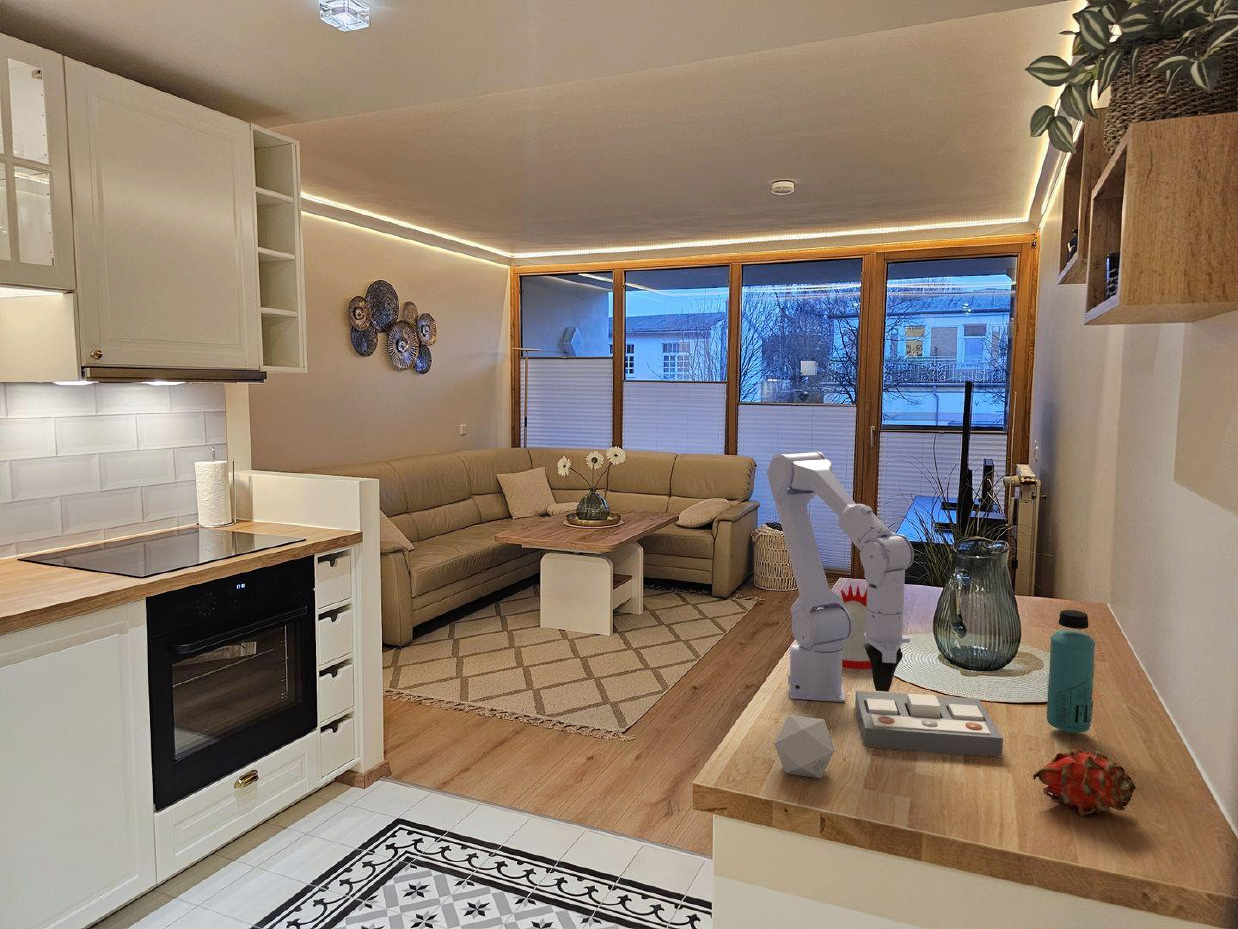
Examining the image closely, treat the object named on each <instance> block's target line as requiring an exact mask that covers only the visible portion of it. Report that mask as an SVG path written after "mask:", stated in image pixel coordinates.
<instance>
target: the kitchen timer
mask: <svg viewBox="0 0 1238 929" xmlns="http://www.w3.org/2000/svg"><path fill="white" fill-rule="evenodd" d="M859 586H860V585H857V587H856V591H855V594H854V593H853V588H852V587H853V586H852V584H849V586H848V592H847V594H846V592H845V591H844V589H841V590H840V594H841V597H842V598H843V601H844V605H845V607H846V609H847V610H848V612H849V613H850V615H851V617H852V620H853V633H852V635H851V637H850V638H849V639H847V640H846V646H843V654H842V668H845V669H853V670H855V669H856V670H872V668H871V663H870V659H869V657H868V655H867V653H866V649H865V646H864V645H865V644H868V642H867V641H865V639H864V633H865V632H866V608H867V588H866V589H865V592H864V595H861V590H860V587H859Z"/></svg>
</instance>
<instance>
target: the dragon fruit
mask: <svg viewBox="0 0 1238 929" xmlns="http://www.w3.org/2000/svg"><path fill="white" fill-rule="evenodd" d="M1093 753H1094V754H1095V755H1094V754H1093ZM1093 753H1092V752H1090V751H1087V752H1085V751H1084V750H1082V749H1079V748H1078V749H1071V750H1070V751H1069V753H1068V752H1058V753H1056V755H1055V757H1054V758H1053V759H1052V760H1051V761H1050V762H1048V763H1047V764H1046V765H1045V766H1043V768H1040V769H1039V770H1038V771H1036V772H1035V773H1034V774H1033V775H1032V778H1033V781H1035V780H1037V778H1038V780H1039V781H1040V782H1041V784H1043V785H1046V786H1047V787H1044V788H1042V792H1043V794H1044V795H1046V797H1048V798H1050V799H1051V800H1052V801H1055V802H1061V803H1062V804H1063V805H1066V806H1076V807H1078V813H1079V814H1080V816H1083V817H1084V816H1085V815H1090V814H1094V812H1096V813H1097V814H1098V815H1106V813H1107V812H1108V811H1109V810H1110V808H1112V809H1115V810H1116V811H1125V809H1126V807H1127V805H1128V804H1129V803H1130V802H1131V800H1132V797H1133V793H1134V791H1136V789H1137V787H1136V785H1135V784H1134V779H1133V778H1132V777H1131V776H1130V775H1129V774H1128V773H1126V771H1125V768H1124V766H1121V765H1120V764H1117V763H1116V762H1115V761H1109V758H1108V757H1107V756H1106V755H1104V754H1103V753H1102V752H1100V751H1095V750H1094V751H1093ZM1036 782H1037V781H1036ZM1037 783H1038V782H1037Z"/></svg>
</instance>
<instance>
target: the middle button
mask: <svg viewBox="0 0 1238 929" xmlns="http://www.w3.org/2000/svg"><path fill="white" fill-rule="evenodd" d="M906 694H907V707H908V709H909V712H910V714H911V716H919V717H934V718H940V707H941V706H940V704H939V702H938V700H937V698H936V696H937V695H936V694H935V695H934V694H923V693H921V694H920V693H919V694H918V693H906Z"/></svg>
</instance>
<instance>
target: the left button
mask: <svg viewBox="0 0 1238 929" xmlns="http://www.w3.org/2000/svg"><path fill="white" fill-rule="evenodd" d="M866 711H867V713H875V714H890V715H898V711H897V708H896V705H895V702H894V700H882V699H866Z"/></svg>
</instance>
